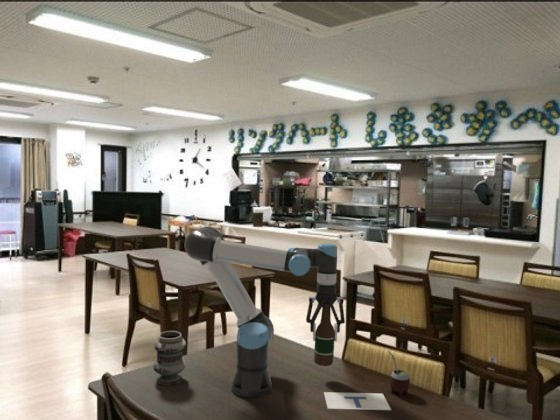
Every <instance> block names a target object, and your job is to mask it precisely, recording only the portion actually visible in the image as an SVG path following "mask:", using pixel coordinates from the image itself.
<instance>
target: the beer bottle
mask: <svg viewBox="0 0 560 420" xmlns="http://www.w3.org/2000/svg"><path fill="white" fill-rule="evenodd" d="M331 312H332V311H331V307H330V304H325V303H324V304H323V307H322V308H321V317H320V321H319V324H318V325H317V327H316V334H315V341H314V353H313V354H314V355H313V360H314V361H313V362H314V363H315V364H317V366H322V367H328V366H332V365H333V363H334V356H335V354H334V353H335V341H334V338H335V331H334V325H332V319H331V318H332V317H331V314H332V313H331Z"/></svg>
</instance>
